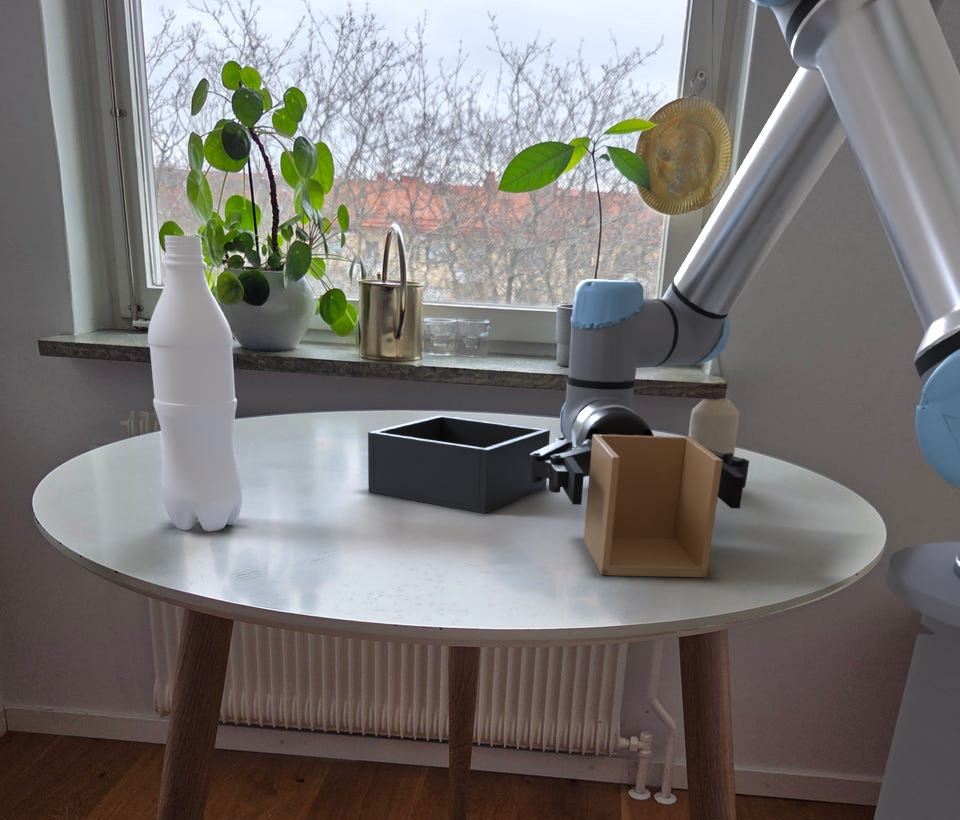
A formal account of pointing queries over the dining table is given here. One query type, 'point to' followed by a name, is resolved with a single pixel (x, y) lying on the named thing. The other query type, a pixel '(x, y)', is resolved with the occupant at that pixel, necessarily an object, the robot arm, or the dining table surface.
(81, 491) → the dining table surface
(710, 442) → the cream bottle
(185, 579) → the dining table surface
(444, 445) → the basket
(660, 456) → the box
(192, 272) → the water bottle
